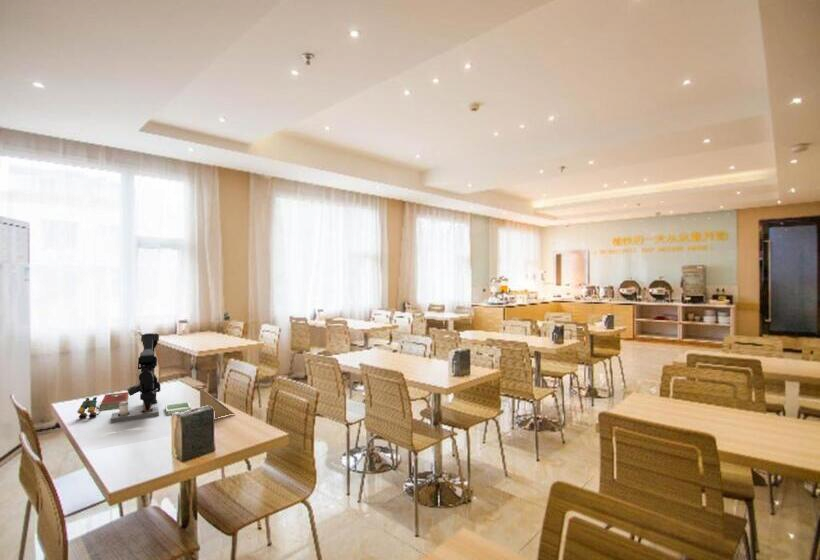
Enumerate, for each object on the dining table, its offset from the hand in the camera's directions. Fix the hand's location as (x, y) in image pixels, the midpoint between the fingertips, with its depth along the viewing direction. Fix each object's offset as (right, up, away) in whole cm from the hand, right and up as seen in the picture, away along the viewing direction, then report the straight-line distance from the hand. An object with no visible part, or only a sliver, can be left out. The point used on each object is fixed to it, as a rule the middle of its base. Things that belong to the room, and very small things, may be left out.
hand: (147, 408), depth 218 cm
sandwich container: (+37, -4, 0) cm, 37 cm away
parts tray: (+12, -4, +8) cm, 14 cm away
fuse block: (-4, -4, -3) cm, 6 cm away
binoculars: (-27, -4, -4) cm, 28 cm away
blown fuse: (0, -3, 0) cm, 3 cm away
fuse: (-8, -3, -5) cm, 10 cm away
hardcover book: (-31, -4, +21) cm, 37 cm away
